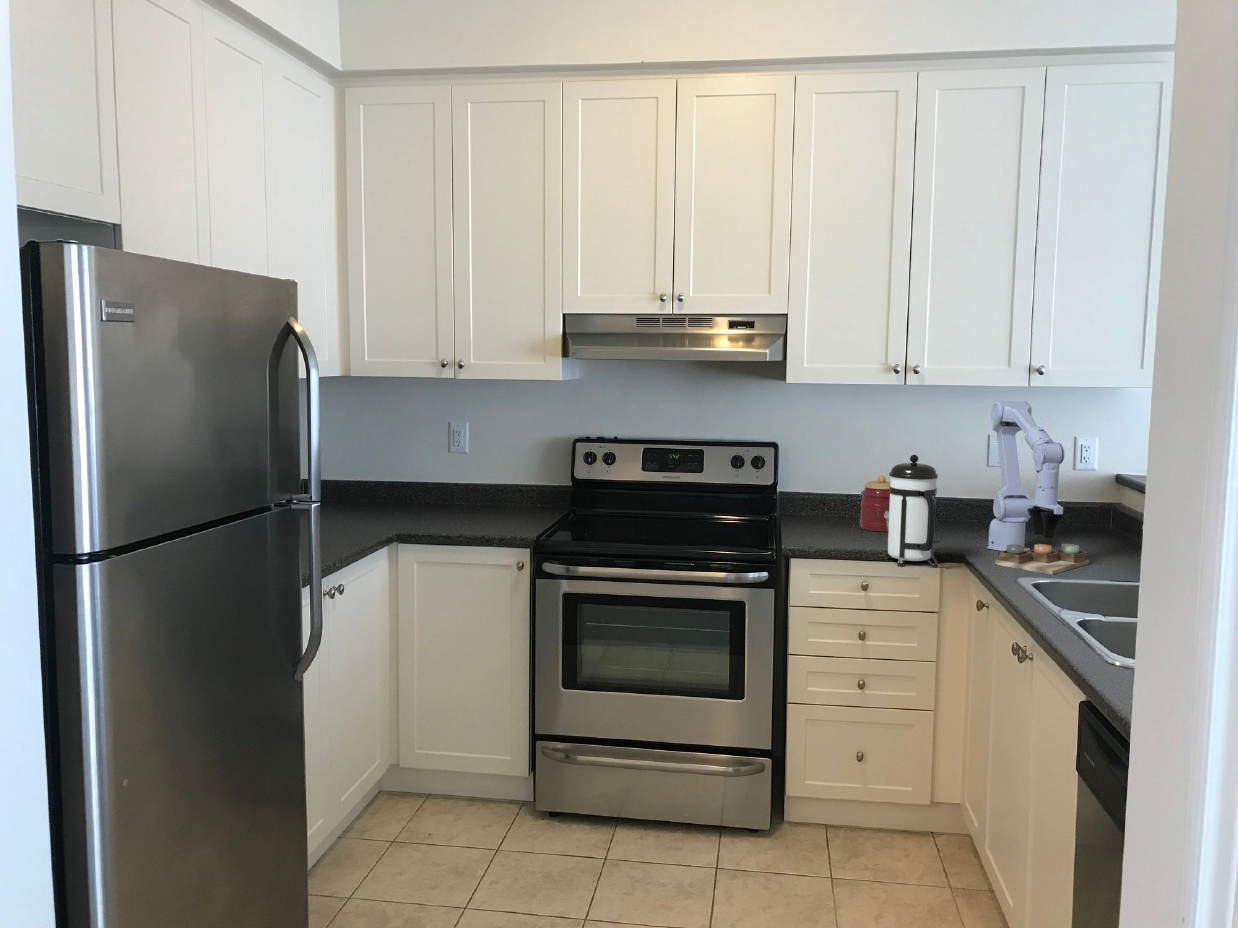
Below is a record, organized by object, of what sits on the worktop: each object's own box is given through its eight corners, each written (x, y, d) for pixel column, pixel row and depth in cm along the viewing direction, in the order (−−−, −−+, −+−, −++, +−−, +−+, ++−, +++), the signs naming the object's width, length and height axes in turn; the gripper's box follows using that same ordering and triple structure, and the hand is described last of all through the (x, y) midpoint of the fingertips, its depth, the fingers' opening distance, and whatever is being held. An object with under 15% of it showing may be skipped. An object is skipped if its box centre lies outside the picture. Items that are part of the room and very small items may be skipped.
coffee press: (870, 562, 267) (874, 455, 263) (896, 554, 279) (901, 450, 275) (930, 572, 255) (935, 460, 252) (955, 563, 267) (960, 455, 264)
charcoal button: (1003, 554, 266) (1003, 545, 266) (1011, 552, 269) (1012, 543, 268) (1018, 557, 263) (1019, 548, 262) (1026, 555, 265) (1027, 546, 265)
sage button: (1058, 554, 267) (1058, 544, 267) (1065, 552, 270) (1066, 543, 270) (1074, 556, 264) (1074, 547, 264) (1081, 554, 267) (1082, 545, 266)
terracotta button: (1030, 554, 267) (1031, 545, 266) (1038, 552, 269) (1039, 543, 269) (1046, 557, 263) (1047, 547, 263) (1054, 555, 266) (1054, 545, 266)
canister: (893, 525, 325) (895, 473, 323) (905, 532, 312) (907, 478, 310) (855, 524, 325) (857, 472, 323) (865, 532, 312) (867, 478, 310)
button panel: (995, 564, 266) (995, 552, 266) (1032, 554, 279) (1033, 542, 279) (1052, 574, 254) (1052, 562, 254) (1088, 563, 267) (1089, 551, 267)
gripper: (1019, 483, 271) (1016, 531, 273) (1046, 490, 257) (1043, 541, 258) (1043, 483, 272) (1040, 530, 273) (1071, 490, 257) (1068, 540, 259)
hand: (1043, 535), depth 266 cm, fingers open, 5 cm apart
